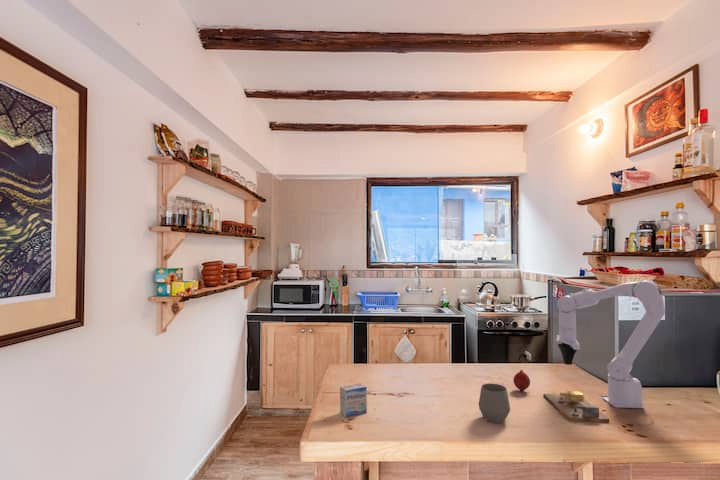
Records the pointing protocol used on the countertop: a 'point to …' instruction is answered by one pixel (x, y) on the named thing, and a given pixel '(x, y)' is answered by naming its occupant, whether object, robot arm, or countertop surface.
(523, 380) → the onion
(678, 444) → the countertop surface
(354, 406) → the medicine box
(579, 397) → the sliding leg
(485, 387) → the cup
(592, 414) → the gauge board
